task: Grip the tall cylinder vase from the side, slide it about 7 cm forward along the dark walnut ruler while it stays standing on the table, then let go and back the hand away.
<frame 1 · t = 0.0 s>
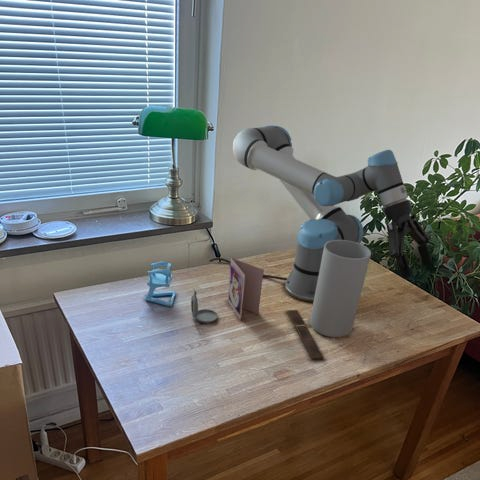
hand: (418, 271, 142), 15 cm above the table, tool tilted 35°, fingers open, 13 cm apart
cylinder vase: (330, 327, 140), on the table
ruler: (303, 334, 135), on the table
chair: (160, 299, 145), on the table
pocket watch: (201, 318, 138), on the table
greeting card: (242, 309, 144), on the table
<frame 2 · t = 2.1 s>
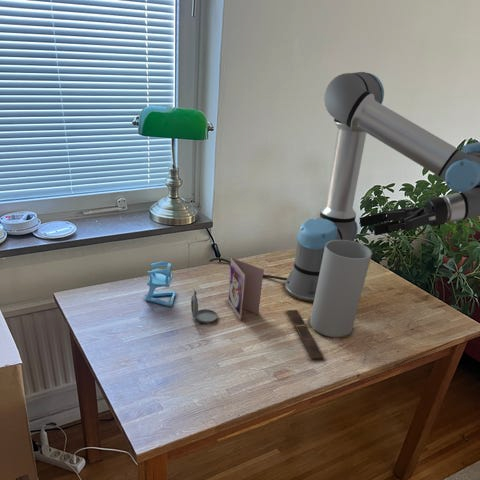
hand: (366, 226, 130), 29 cm above the table, tool tilted 75°, fingers open, 13 cm apart
nothing on the table moved.
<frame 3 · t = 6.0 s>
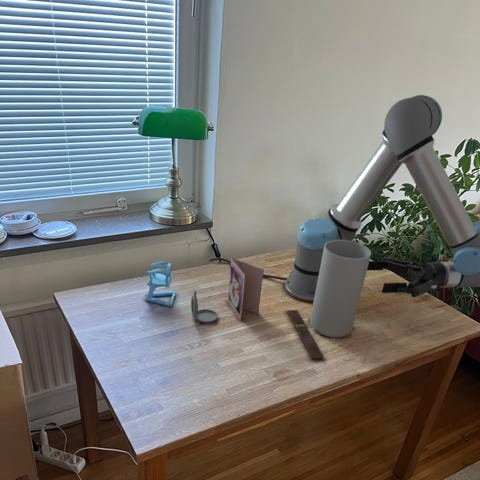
hand: (372, 276, 133), 17 cm above the table, tool horizontal, fingers open, 13 cm apart
nothing on the table moved.
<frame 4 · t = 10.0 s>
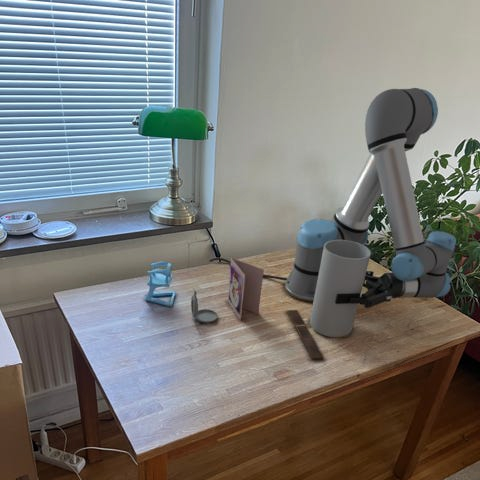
hand: (327, 287, 132), 13 cm above the table, tool horizontal, fingers closed on cylinder vase, 12 cm apart
cylinder vase: (330, 327, 140), on the table, touching gripper
everything else where it was.
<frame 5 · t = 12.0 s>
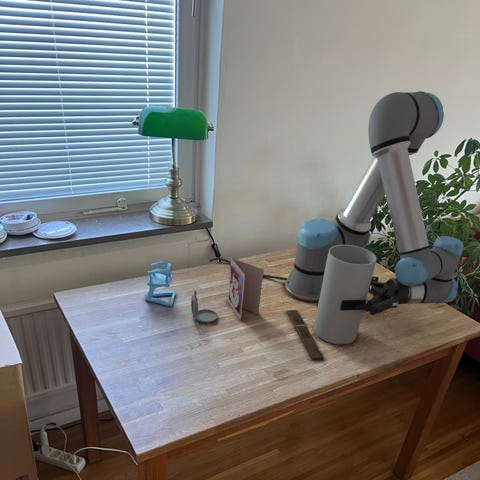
hand: (332, 293, 129), 14 cm above the table, tool horizontal, fingers closed on cylinder vase, 12 cm apart
cylinder vase: (334, 333, 137), on the table, touching gripper
everything else where it was.
when the fingers open (13 cm above the table, at t = 13.9 s): cylinder vase stays where it is, on the table.
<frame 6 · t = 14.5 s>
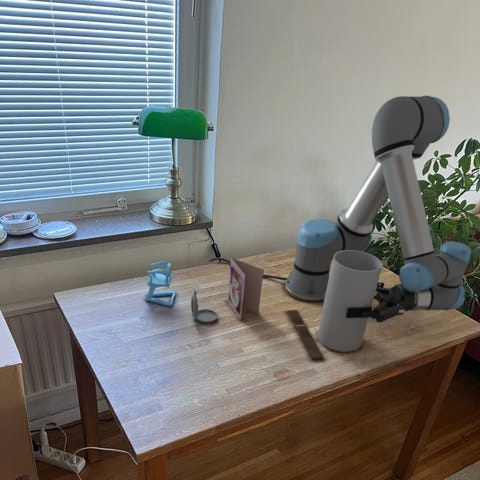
hand: (337, 299, 126), 13 cm above the table, tool horizontal, fingers open, 13 cm apart
cylinder vase: (338, 340, 134), on the table
everything else where it was.
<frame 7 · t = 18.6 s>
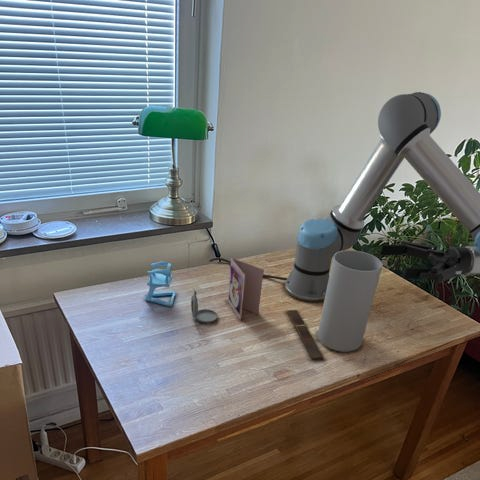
hand: (392, 261, 123), 25 cm above the table, tool horizontal, fingers open, 13 cm apart
nothing on the table moved.
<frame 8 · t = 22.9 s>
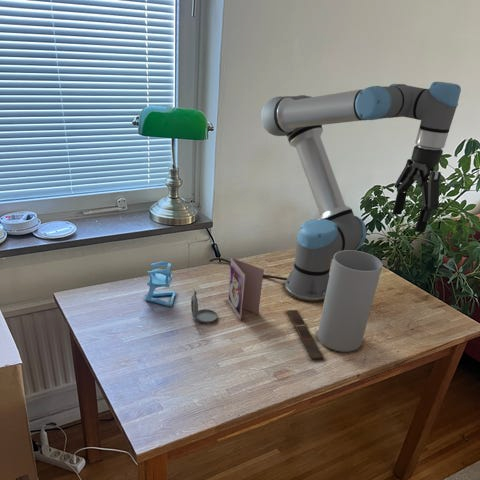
hand: (407, 222, 138), 29 cm above the table, tool pointing down, fingers open, 13 cm apart
nothing on the table moved.
at the end: cylinder vase 0.5 cm from the target spot, on the table; cylinder vase tilted 0°; the gripper is holding nothing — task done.
